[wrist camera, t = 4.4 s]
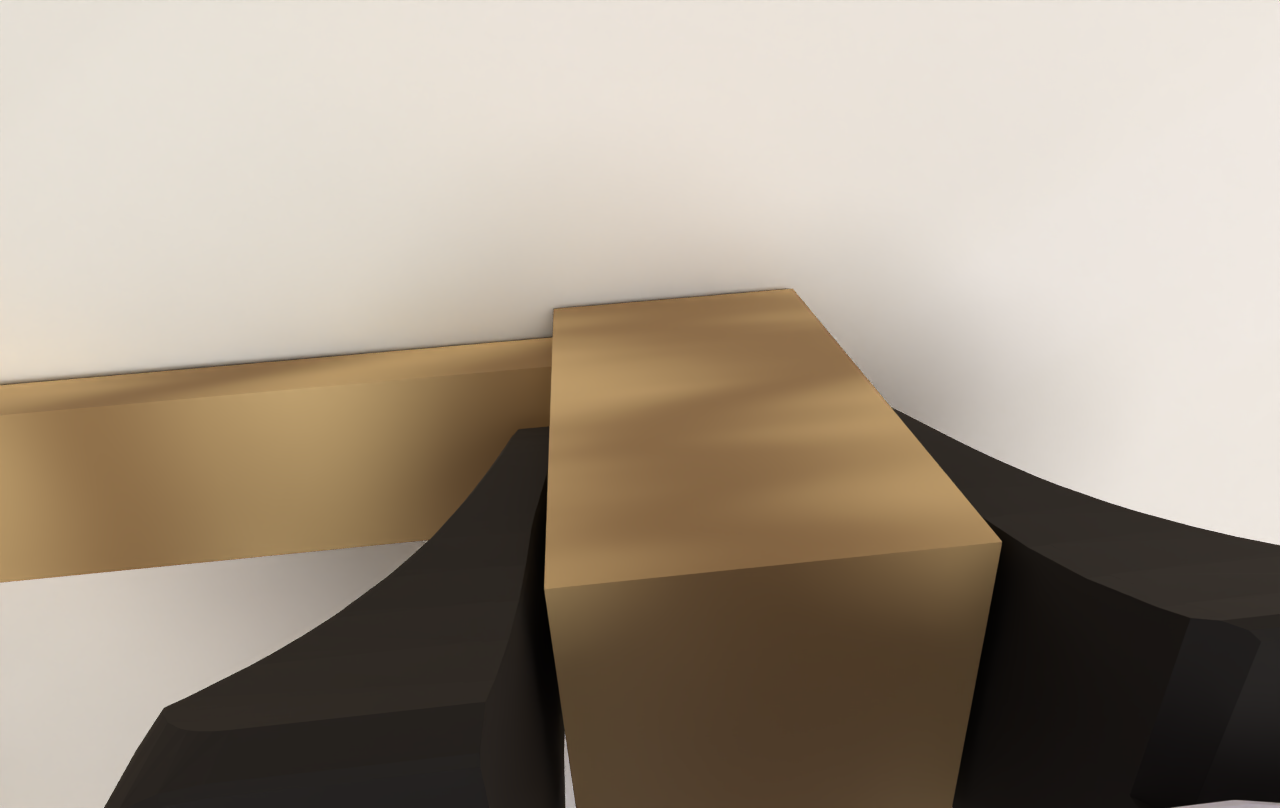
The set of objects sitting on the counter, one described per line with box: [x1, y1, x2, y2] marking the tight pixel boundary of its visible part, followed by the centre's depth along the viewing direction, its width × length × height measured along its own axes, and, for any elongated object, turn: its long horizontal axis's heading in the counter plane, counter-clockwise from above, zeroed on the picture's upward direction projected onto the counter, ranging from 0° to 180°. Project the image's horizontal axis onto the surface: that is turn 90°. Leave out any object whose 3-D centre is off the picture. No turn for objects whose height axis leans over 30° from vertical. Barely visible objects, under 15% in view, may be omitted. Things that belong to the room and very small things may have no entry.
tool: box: [0, 289, 1002, 808], centre depth 10 cm, size 17×4×7 cm, turn 93°
